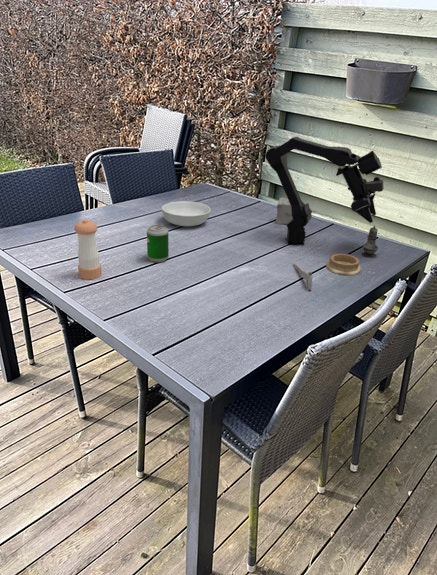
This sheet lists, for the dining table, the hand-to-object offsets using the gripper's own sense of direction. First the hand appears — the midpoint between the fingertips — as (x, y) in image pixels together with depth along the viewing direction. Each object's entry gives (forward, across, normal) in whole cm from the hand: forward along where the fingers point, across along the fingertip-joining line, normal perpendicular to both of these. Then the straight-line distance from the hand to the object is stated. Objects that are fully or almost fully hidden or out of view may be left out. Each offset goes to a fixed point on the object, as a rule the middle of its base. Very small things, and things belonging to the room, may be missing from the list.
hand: (373, 218), depth 175 cm
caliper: (+3, -30, +23) cm, 38 cm away
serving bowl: (-31, -1, +72) cm, 78 cm away
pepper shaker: (-34, -62, +75) cm, 103 cm away
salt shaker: (+13, +1, +8) cm, 15 cm away
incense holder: (-9, +21, +39) cm, 45 cm away
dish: (+9, -16, +13) cm, 23 cm away
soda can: (-26, -40, +64) cm, 80 cm away
